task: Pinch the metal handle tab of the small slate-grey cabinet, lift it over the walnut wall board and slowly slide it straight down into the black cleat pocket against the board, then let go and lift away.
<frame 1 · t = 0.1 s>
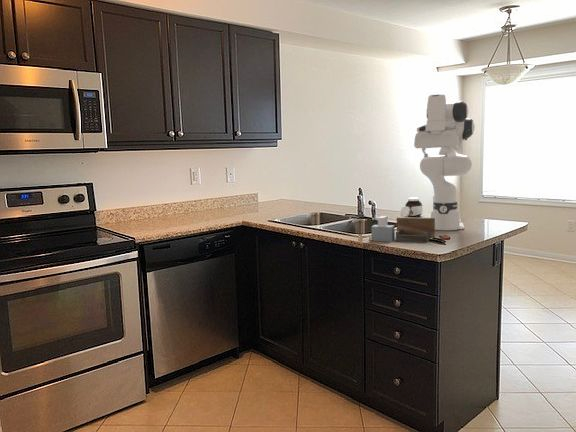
hand: (436, 157, 223), 39 cm above the worktop, tool pointing down, fingers open, 8 cm apart
spread jar: (411, 217, 293), on the worktop
mini cabinet: (383, 240, 228), on the worktop
syrup box: (440, 219, 277), on the worktop
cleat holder: (413, 239, 224), on the worktop
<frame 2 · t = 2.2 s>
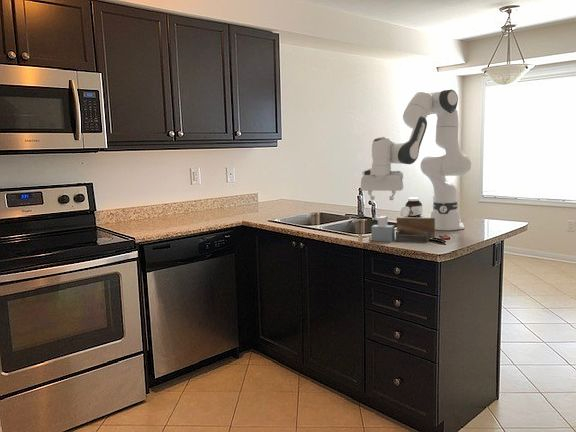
hand: (381, 199, 225), 20 cm above the worktop, tool pointing down, fingers open, 8 cm apart
nothing on the worktop moved.
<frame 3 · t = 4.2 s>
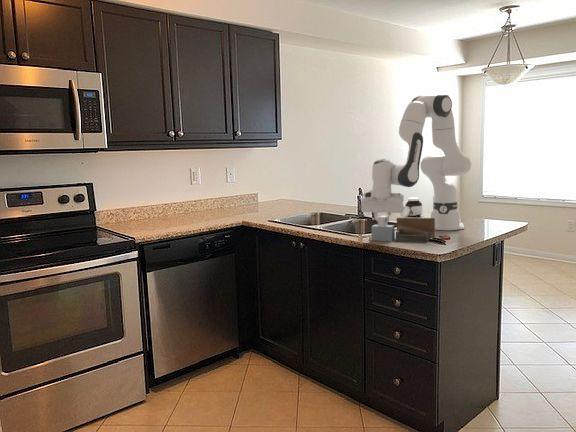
hand: (382, 221, 227), 9 cm above the worktop, tool pointing down, fingers closed on mini cabinet, 3 cm apart
mini cabinet: (383, 239, 228), on the worktop, touching gripper
everything else where it was.
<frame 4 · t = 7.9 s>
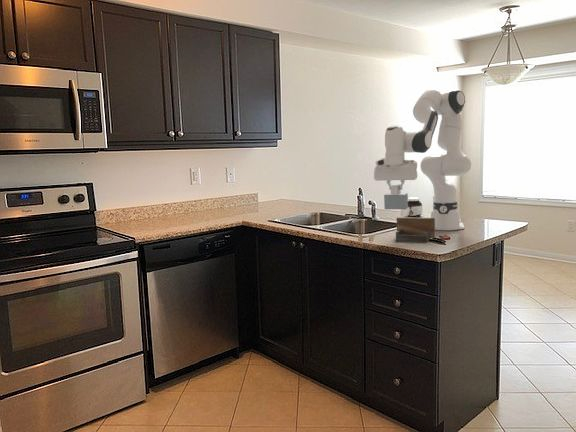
hand: (395, 189, 223), 24 cm above the worktop, tool pointing down, fingers closed on mini cabinet, 3 cm apart
mini cabinet: (396, 208, 225), point 15 cm above the worktop, touching gripper
everything else where it was.
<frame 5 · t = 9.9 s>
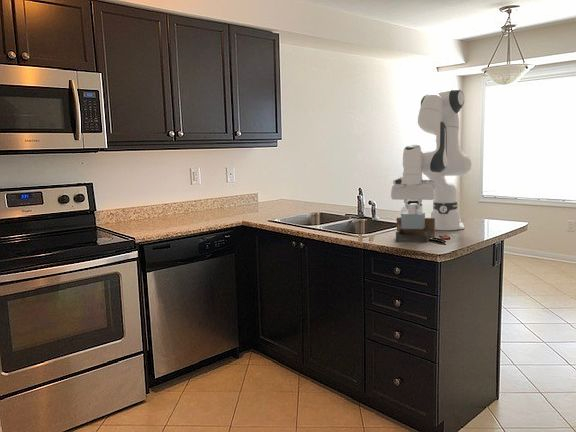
hand: (413, 209, 222), 15 cm above the worktop, tool pointing down, fingers closed on mini cabinet, 3 cm apart
mini cabinet: (413, 227, 223), point 6 cm above the worktop, touching gripper
everything else where it was.
when the fingers open (11 cm above the worktop, at t = 11.4 s): mini cabinet drops 2 cm, resting in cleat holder.
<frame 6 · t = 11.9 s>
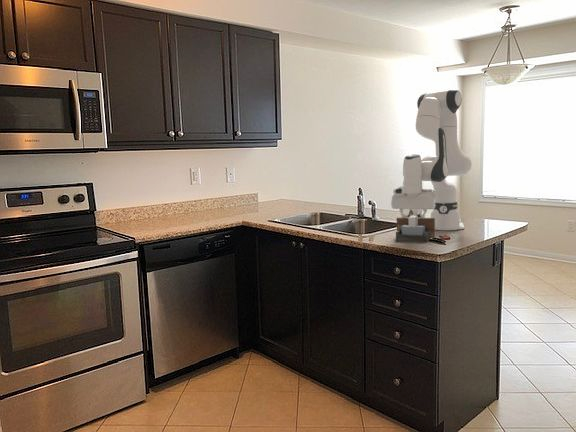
hand: (413, 218, 223), 11 cm above the worktop, tool pointing down, fingers open, 8 cm apart
mini cabinet: (413, 240, 224), resting in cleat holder
everything else where it was.
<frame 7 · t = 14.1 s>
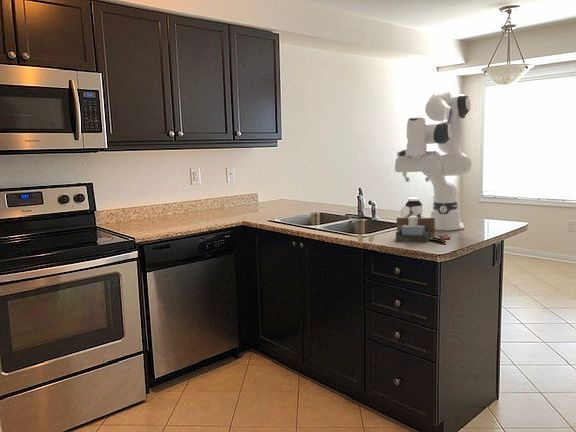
hand: (417, 181, 219), 28 cm above the worktop, tool pointing down, fingers open, 8 cm apart
nothing on the worktop moved.
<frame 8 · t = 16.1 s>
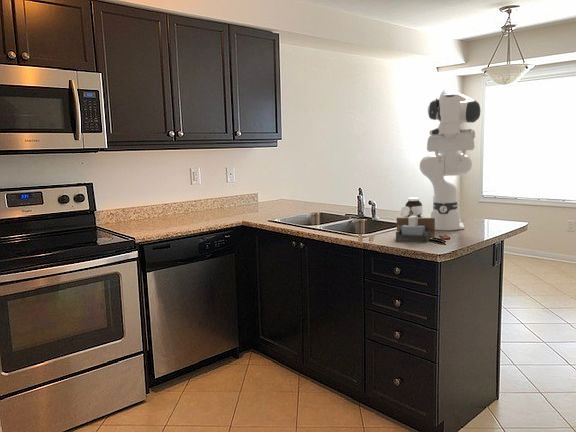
hand: (450, 161, 212), 37 cm above the worktop, tool pointing down, fingers open, 8 cm apart
nothing on the worktop moved.
at the end: mini cabinet 0.0 cm off-centre on the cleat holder, point 0.0 cm above the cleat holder's base; mini cabinet tilted 0°; the gripper is holding nothing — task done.
